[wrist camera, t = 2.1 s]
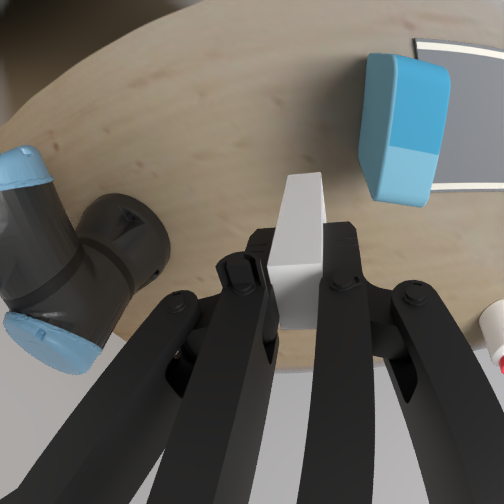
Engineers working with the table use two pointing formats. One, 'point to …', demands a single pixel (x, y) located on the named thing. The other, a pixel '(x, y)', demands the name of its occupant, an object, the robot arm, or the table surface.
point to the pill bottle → (494, 331)
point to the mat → (469, 116)
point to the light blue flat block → (402, 127)
